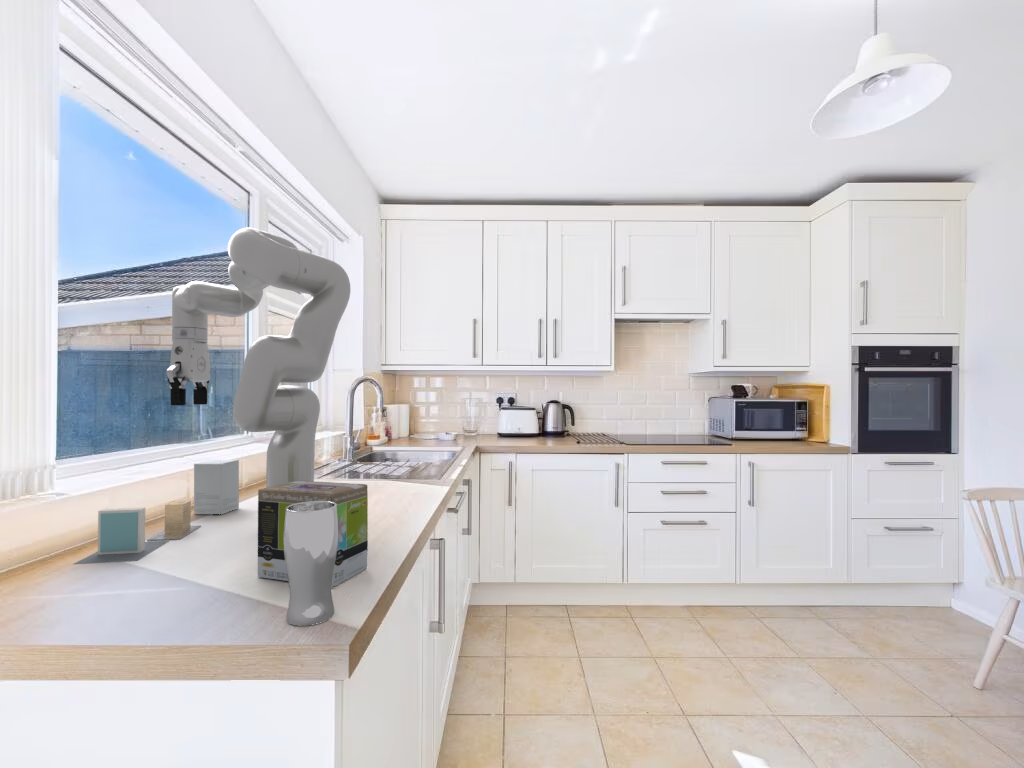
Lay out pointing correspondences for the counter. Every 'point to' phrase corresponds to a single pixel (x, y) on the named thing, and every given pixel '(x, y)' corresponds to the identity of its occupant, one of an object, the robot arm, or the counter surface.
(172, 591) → the counter surface
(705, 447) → the counter surface
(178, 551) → the counter surface
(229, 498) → the supplement box
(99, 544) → the tile
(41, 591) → the counter surface
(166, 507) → the trowel
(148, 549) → the mat
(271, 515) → the tea box
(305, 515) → the beer glass
